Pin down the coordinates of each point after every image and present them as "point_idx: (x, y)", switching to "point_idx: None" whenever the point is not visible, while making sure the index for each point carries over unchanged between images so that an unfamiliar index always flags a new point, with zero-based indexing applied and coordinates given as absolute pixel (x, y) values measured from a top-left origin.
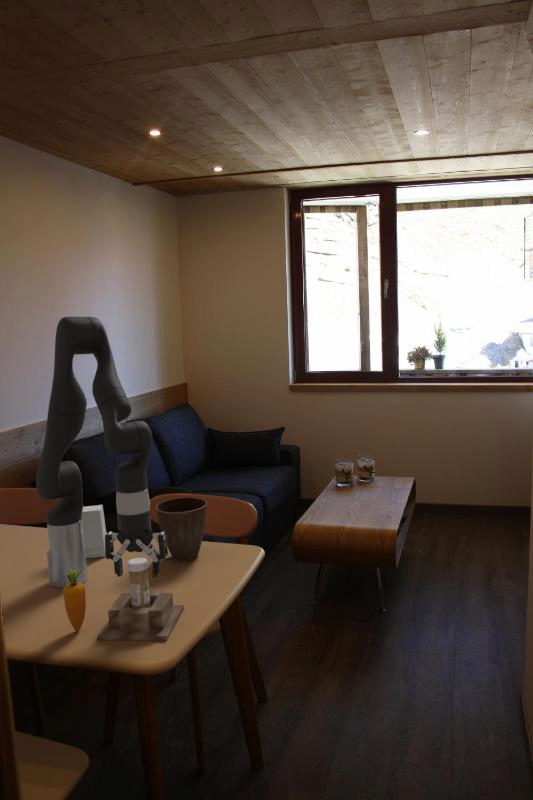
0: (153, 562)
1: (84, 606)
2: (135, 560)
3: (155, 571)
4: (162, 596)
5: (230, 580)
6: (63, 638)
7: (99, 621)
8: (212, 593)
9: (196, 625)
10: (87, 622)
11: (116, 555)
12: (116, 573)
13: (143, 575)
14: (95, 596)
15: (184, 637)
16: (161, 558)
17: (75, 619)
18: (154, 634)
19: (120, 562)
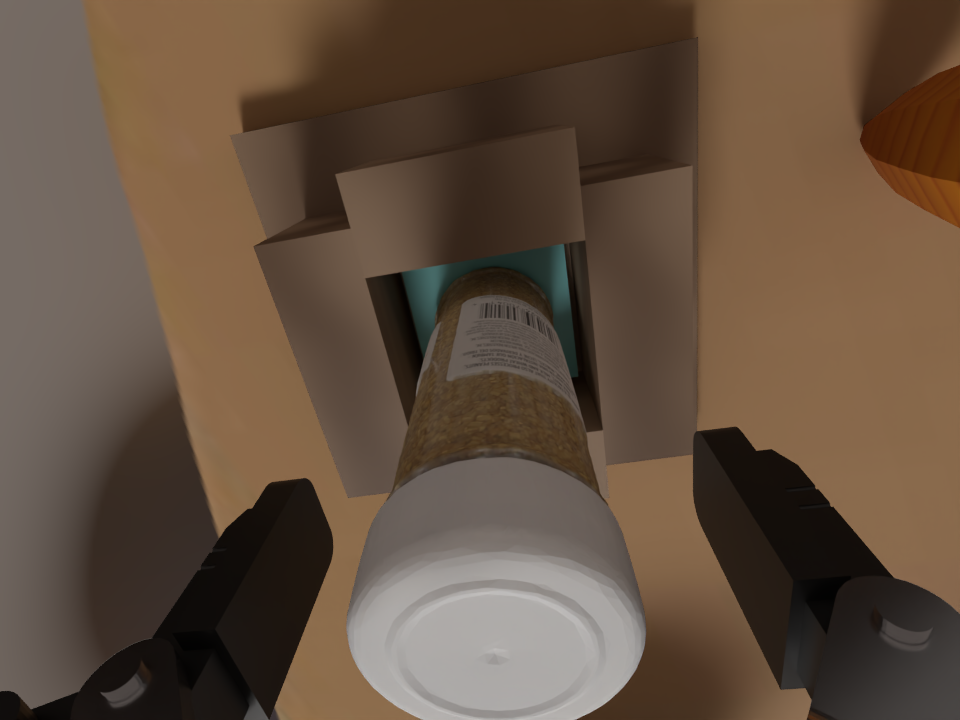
0: (194, 632)
1: (937, 155)
2: (533, 663)
3: (244, 525)
4: (383, 448)
5: (313, 699)
6: (950, 6)
7: (762, 284)
8: (320, 609)
9: (200, 335)
10: (835, 259)
11: (936, 713)
12: (763, 455)
13: (400, 468)
14: (873, 526)
15: (172, 194)
16: (7, 710)
17: (949, 70)
18: (317, 140)
19: (771, 601)
